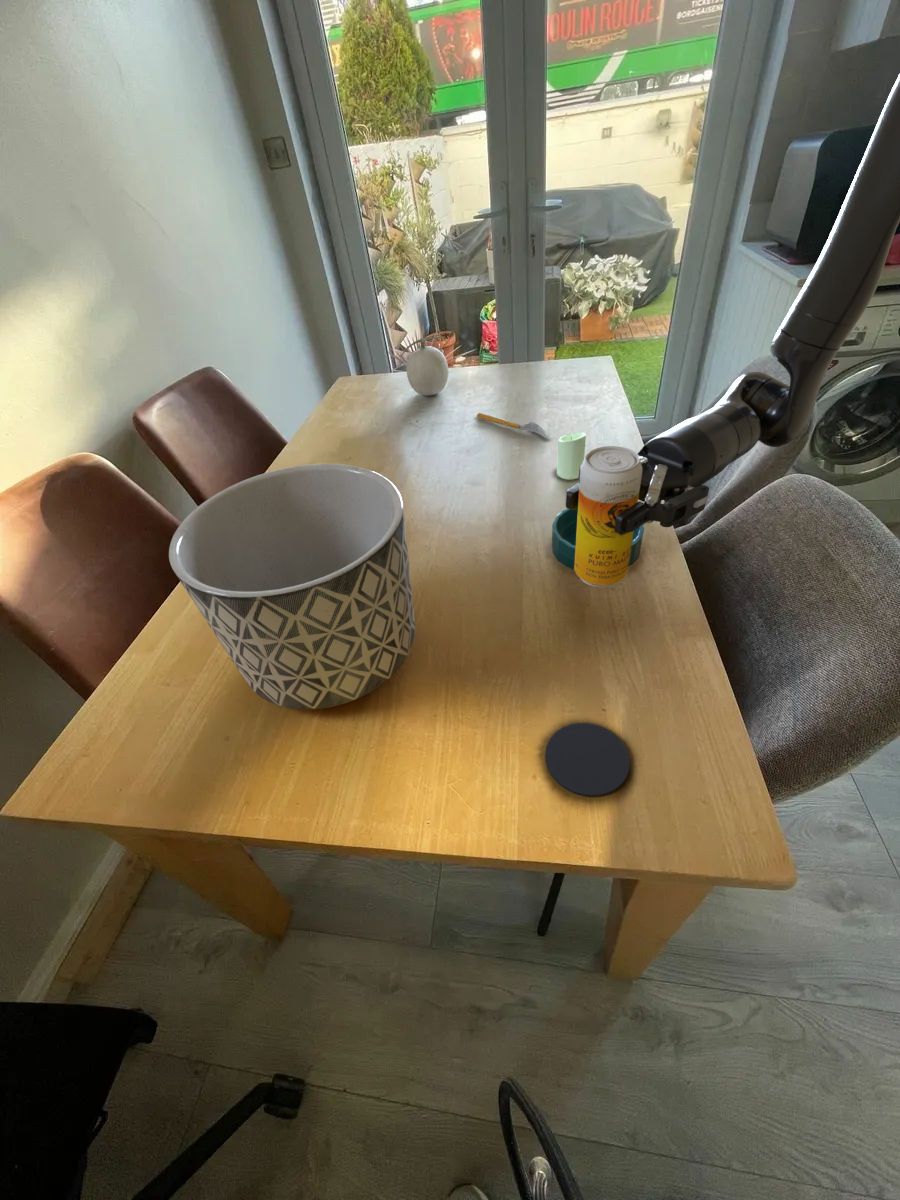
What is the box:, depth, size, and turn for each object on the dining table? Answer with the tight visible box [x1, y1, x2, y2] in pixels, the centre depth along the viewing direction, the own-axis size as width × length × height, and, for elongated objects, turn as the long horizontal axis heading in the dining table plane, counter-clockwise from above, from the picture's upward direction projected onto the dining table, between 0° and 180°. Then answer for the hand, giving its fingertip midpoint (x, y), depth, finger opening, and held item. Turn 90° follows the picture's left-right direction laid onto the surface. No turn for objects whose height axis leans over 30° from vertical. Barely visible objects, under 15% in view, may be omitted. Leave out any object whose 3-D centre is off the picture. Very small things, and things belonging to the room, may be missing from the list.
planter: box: [168, 463, 416, 711], centre depth 69 cm, size 26×26×22 cm
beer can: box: [574, 445, 643, 588], centre depth 60 cm, size 6×6×15 cm
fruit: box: [400, 335, 449, 397], centre depth 138 cm, size 10×12×15 cm
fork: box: [476, 412, 547, 440], centre depth 123 cm, size 2×2×20 cm
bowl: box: [551, 508, 645, 571], centre depth 87 cm, size 14×14×4 cm
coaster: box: [544, 722, 631, 798], centre depth 60 cm, size 9×9×1 cm
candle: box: [556, 432, 587, 481], centre depth 104 cm, size 5×5×8 cm
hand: (592, 513), depth 58 cm, fingers closed on beer can, 6 cm apart
